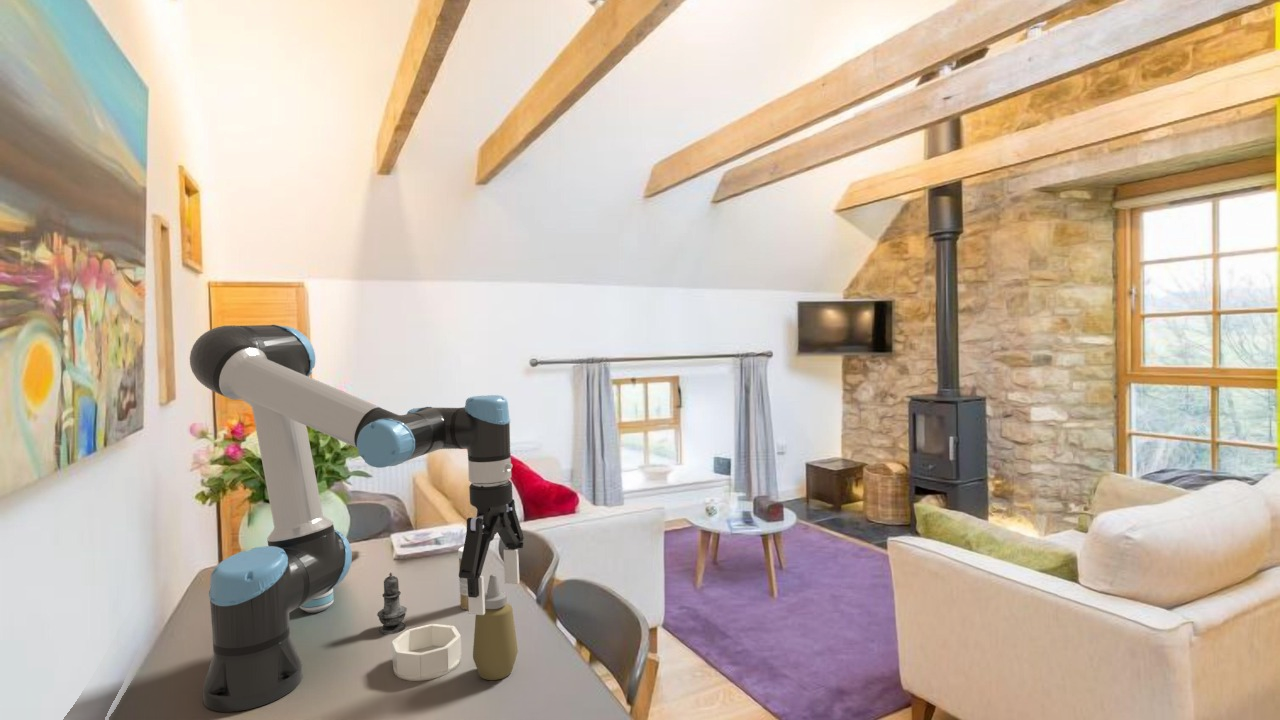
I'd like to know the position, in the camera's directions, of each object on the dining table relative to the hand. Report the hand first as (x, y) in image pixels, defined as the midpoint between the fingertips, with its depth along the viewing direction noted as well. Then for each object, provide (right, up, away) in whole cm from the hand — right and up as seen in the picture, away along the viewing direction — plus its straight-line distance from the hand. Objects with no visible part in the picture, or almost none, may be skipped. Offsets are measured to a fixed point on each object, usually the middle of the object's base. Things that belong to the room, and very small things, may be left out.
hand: (495, 597), depth 117 cm
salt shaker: (-26, -14, +19) cm, 35 cm away
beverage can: (-47, -14, +30) cm, 58 cm away
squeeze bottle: (0, -14, +1) cm, 14 cm away
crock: (-14, -14, +4) cm, 20 cm away
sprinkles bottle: (-12, -13, +30) cm, 34 cm away
